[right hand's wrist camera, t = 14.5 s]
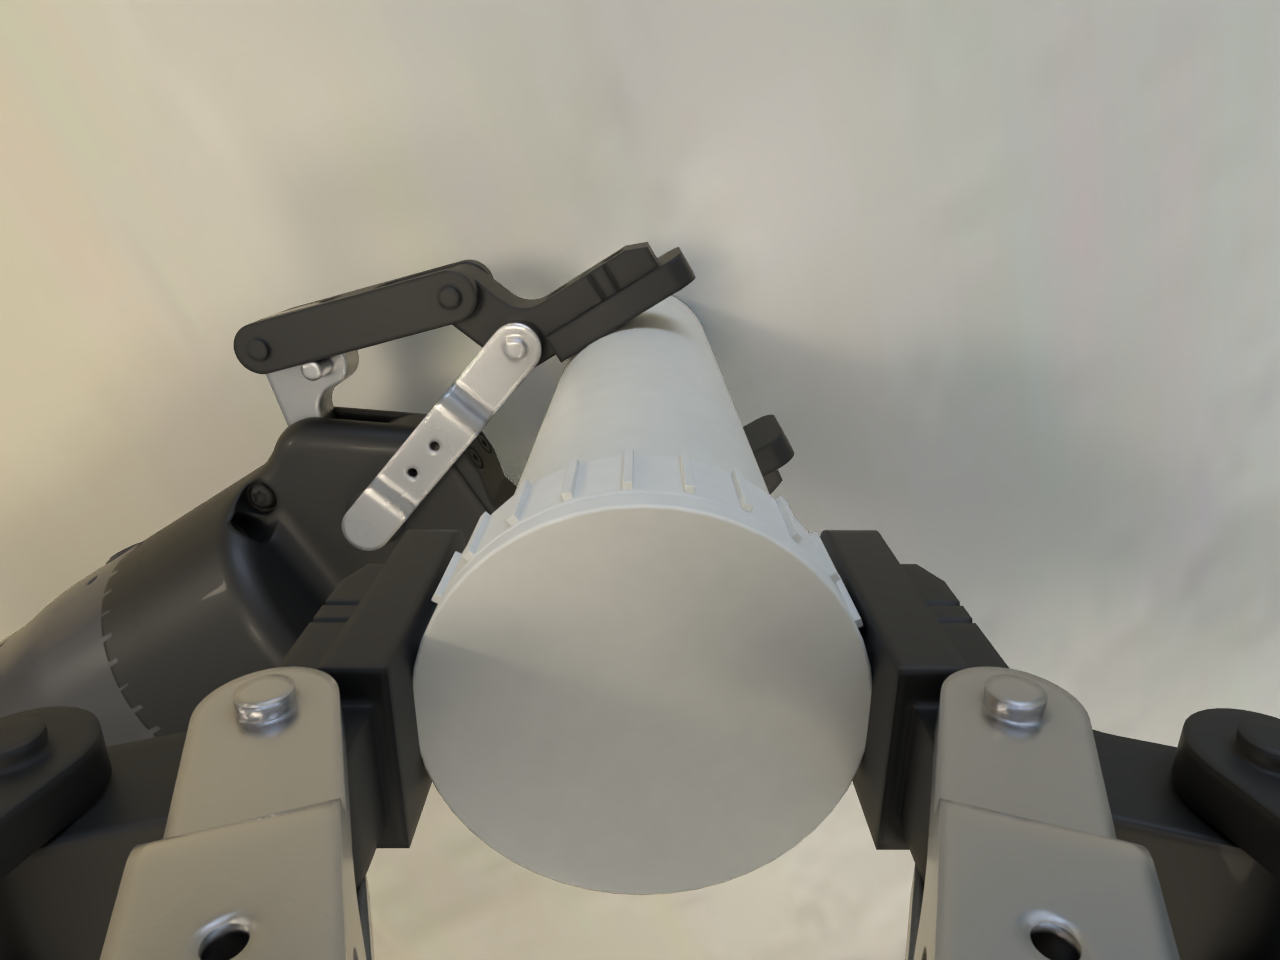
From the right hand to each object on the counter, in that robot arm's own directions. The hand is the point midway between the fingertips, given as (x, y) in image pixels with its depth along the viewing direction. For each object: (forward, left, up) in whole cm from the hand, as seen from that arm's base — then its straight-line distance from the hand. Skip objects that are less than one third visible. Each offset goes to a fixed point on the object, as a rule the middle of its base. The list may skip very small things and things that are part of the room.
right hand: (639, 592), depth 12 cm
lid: (0, 0, +3) cm, 3 cm away
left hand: (+2, +2, -10) cm, 10 cm away
